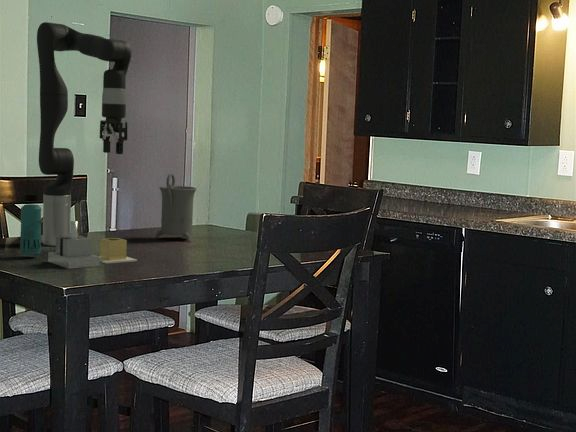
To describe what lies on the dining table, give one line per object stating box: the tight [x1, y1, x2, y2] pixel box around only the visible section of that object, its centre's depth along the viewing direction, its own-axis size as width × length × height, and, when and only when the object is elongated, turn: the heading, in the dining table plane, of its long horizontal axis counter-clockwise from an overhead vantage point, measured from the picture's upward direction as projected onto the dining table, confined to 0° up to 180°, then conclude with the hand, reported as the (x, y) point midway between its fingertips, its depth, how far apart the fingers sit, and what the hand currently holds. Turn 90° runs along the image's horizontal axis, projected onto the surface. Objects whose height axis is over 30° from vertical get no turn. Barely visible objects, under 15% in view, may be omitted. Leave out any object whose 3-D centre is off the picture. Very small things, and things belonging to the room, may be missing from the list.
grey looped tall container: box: [153, 172, 197, 243], centre depth 342 cm, size 19×15×25 cm
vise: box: [47, 220, 100, 269], centre depth 280 cm, size 14×10×13 cm
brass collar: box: [99, 237, 128, 260], centre depth 291 cm, size 6×6×6 cm
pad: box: [98, 255, 138, 264], centre depth 291 cm, size 11×11×1 cm
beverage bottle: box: [19, 193, 43, 255], centre depth 288 cm, size 6×7×20 cm
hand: (112, 153), depth 298 cm, fingers open, 8 cm apart
